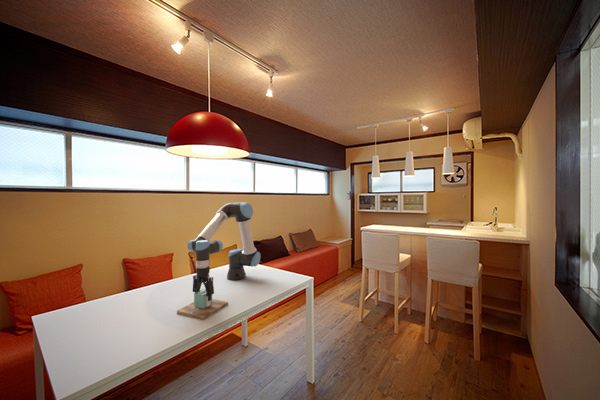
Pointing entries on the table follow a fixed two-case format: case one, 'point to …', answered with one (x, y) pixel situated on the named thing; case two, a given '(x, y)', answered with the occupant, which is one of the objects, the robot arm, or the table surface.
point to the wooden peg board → (200, 312)
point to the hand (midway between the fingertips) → (203, 304)
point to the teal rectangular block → (200, 299)
